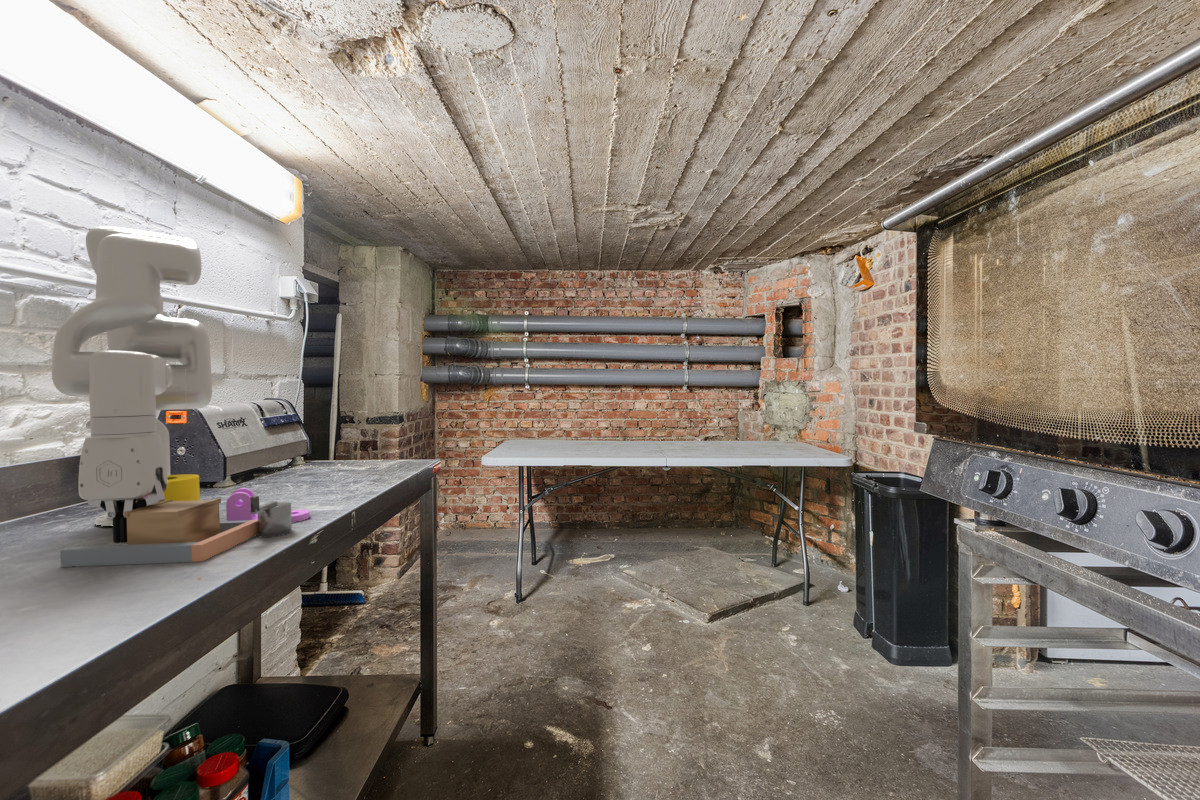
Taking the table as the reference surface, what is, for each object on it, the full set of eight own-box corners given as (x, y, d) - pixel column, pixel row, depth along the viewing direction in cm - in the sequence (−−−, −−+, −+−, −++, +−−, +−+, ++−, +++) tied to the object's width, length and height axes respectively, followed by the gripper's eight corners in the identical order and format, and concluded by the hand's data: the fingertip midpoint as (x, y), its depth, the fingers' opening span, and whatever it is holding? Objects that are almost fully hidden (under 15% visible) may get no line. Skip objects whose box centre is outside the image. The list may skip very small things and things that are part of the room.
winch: (269, 529, 88) (268, 487, 87) (297, 528, 88) (296, 486, 88) (237, 544, 79) (236, 498, 79) (269, 543, 80) (268, 497, 79)
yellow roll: (203, 518, 96) (202, 472, 96) (196, 530, 88) (195, 479, 88) (135, 526, 91) (134, 478, 90) (121, 540, 82) (120, 486, 82)
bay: (143, 537, 83) (143, 523, 83) (260, 533, 85) (260, 519, 85) (60, 567, 69) (60, 550, 69) (202, 561, 71) (202, 544, 71)
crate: (170, 541, 81) (168, 499, 81) (222, 539, 82) (221, 498, 82) (125, 558, 73) (123, 512, 73) (183, 556, 73) (182, 510, 73)
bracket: (226, 531, 87) (225, 494, 87) (231, 524, 92) (230, 489, 92) (309, 521, 94) (308, 486, 94) (309, 515, 99) (309, 481, 98)
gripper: (49, 430, 72) (53, 549, 72) (153, 428, 73) (157, 546, 73) (97, 426, 79) (101, 535, 80) (191, 425, 81) (194, 531, 81)
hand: (128, 540), depth 77 cm, fingers closed
